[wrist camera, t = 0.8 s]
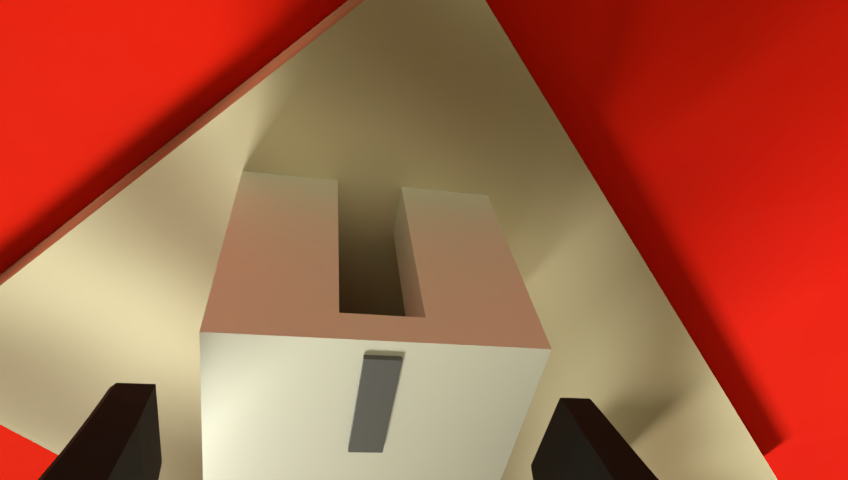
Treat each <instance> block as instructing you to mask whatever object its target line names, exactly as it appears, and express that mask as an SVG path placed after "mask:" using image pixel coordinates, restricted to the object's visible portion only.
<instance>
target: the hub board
mask: <svg viewBox="0 0 848 480" xmlns="http://www.w3.org/2000/svg"><path fill="white" fill-rule="evenodd" d="M242 171H249V172H259V173H269V174H279V175H289V176H299V177H309V178H319V179H329V180H338V252H339V313H353V314H370V315H388V316H405V310H404V303H403V296H402V289H401V282H400V275H399V269H398V262H397V255H396V248H395V241H394V234H393V230H394V225H395V219H396V213H397V208H398V202H399V197H400V191H401V187H409V188H419V189H429V190H439V191H449V192H459V193H469V194H479V195H488V197H489V200H490V202H491V204H492V207H493V209H494V212H495V214H496V216H497V219H498V221H499V224H500V226H501V228H502V231H503V233H504V236H505V238H506V240H507V243H508V245H509V248H510V250H511V253H512V255H513V257H514V260H515V262H516V265H517V267H518V269H519V272H520V274H521V277H522V279H523V281H524V284H525V286H526V289H527V291H528V293H529V296H530V298H531V301H532V303H533V305H534V308H535V310H536V313H537V315H538V317H539V320H540V322H541V325H542V327H543V329H544V332H545V334H546V337H547V339H548V341H549V344H550V346H551V349H552V350H551V353H550V355H549V358H548V360H547V363H546V365H545V368H544V370H543V373H542V376H541V378H540V381H539V383H538V386H537V388H536V391H535V393H534V396H533V399H532V401H531V404H530V406H529V409H528V411H527V414H526V416H525V419H524V421H523V424H522V427H521V429H520V432H519V434H518V437H517V439H516V442H515V444H514V447H513V450H512V452H511V455H510V457H509V460H508V462H507V465H506V467H505V470H504V473H503V475H502V478H501V480H533V476H532V470H531V464H532V462H533V459H534V457H535V455H536V452H537V450H538V448H539V445H540V443H541V441H542V438H543V436H544V434H545V432H546V429H547V427H548V425H549V422H550V420H551V418H552V415H553V413H554V411H555V408H556V406H557V404H558V401H559V399H560V398H589V399H591V400H592V401H593V403H594V404H595V405H596V406H597V407H598V408H599V410H600V411H601V412H602V413H603V414H604V415H605V417H606V418H607V419H608V420H609V421H610V423H611V424H612V425H613V426H614V427H615V429H616V430H617V431H618V432H619V433H620V435H621V436H622V437H623V438H624V439H625V441H626V442H627V443H628V444H629V445H630V447H631V448H632V449H633V450H634V451H635V452H636V454H637V455H638V456H639V457H640V458H641V460H642V461H643V462H644V463H645V464H646V465H647V467H648V468H649V469H650V470H651V471H652V472H653V474H654V475H655V476H656V477H657V478H658V479H659V480H777V478H776V476H775V475H774V473H773V471H772V470H771V468H770V467H769V465H768V463H767V462H766V460H765V458H764V457H763V455H762V453H761V452H760V450H759V448H758V447H757V445H756V444H755V442H754V440H753V439H752V437H751V435H750V434H749V432H748V430H747V429H746V427H745V425H744V424H743V422H742V421H741V419H740V417H739V416H738V414H737V412H736V411H735V409H734V407H733V406H732V404H731V403H730V401H729V399H728V398H727V396H726V394H725V393H724V391H723V389H722V388H721V386H720V384H719V383H718V381H717V380H716V378H715V376H714V375H713V373H712V371H711V370H710V368H709V366H708V365H707V363H706V361H705V360H704V358H703V357H702V355H701V353H700V352H699V350H698V348H697V347H696V345H695V343H694V342H693V340H692V338H691V337H690V335H689V334H688V332H687V330H686V329H685V327H684V325H683V324H682V322H681V320H680V319H679V317H678V316H677V314H676V312H675V311H674V309H673V307H672V306H671V304H670V302H669V301H668V299H667V297H666V296H665V294H664V293H663V291H662V289H661V288H660V286H659V284H658V283H657V281H656V279H655V278H654V276H653V274H652V273H651V271H650V270H649V268H648V266H647V265H646V263H645V261H644V260H643V258H642V256H641V255H640V253H639V252H638V250H637V248H636V247H635V245H634V243H633V242H632V240H631V238H630V237H629V235H628V233H627V232H626V230H625V229H624V227H623V225H622V224H621V222H620V220H619V219H618V217H617V215H616V214H615V212H614V210H613V209H612V207H611V206H610V204H609V202H608V201H607V199H606V197H605V196H604V194H603V192H602V191H601V189H600V187H599V186H598V184H597V183H596V181H595V179H594V178H593V176H592V174H591V173H590V171H589V169H588V168H587V166H586V165H585V163H584V161H583V160H582V158H581V156H580V155H579V153H578V151H577V150H576V148H575V146H574V145H573V143H572V142H571V140H570V138H569V137H568V135H567V133H566V132H565V130H564V128H563V127H562V125H561V123H560V122H559V120H558V119H557V117H556V115H555V114H554V112H553V110H552V109H551V107H550V105H549V104H548V102H547V100H546V99H545V97H544V96H543V94H542V92H541V91H540V89H539V87H538V86H537V84H536V82H535V81H534V79H533V78H532V76H531V74H530V73H529V71H528V69H527V68H526V66H525V64H524V63H523V61H522V59H521V58H520V56H519V55H518V53H517V51H516V50H515V48H514V46H513V45H512V43H511V41H510V40H509V38H508V36H507V35H506V33H505V32H504V30H503V28H502V27H501V25H500V23H499V22H498V20H497V18H496V17H495V15H494V14H493V12H492V10H491V9H490V7H489V5H488V4H487V2H486V0H348V1H346V2H345V3H344V4H343V5H341V6H340V7H339V8H338V9H336V10H335V11H334V12H332V13H331V14H330V15H329V16H327V17H326V18H325V19H324V20H322V21H321V22H320V23H319V24H317V25H316V26H315V27H313V28H312V29H311V30H310V31H308V32H307V33H306V34H305V35H303V36H302V37H301V38H300V39H298V40H297V41H296V42H294V43H293V44H292V45H291V46H289V47H288V48H287V49H286V50H284V51H283V52H282V53H281V54H279V55H278V56H277V57H275V58H274V59H273V60H272V61H270V62H269V63H268V64H267V65H265V66H264V67H263V68H262V69H260V70H259V71H258V72H256V73H255V74H254V75H253V76H251V77H250V78H249V79H248V80H246V81H245V82H244V83H243V84H241V85H240V86H239V87H237V88H236V89H235V90H234V91H232V92H231V93H230V94H229V95H227V96H226V97H225V98H224V99H222V100H221V101H220V102H218V103H217V104H216V105H215V106H213V107H212V108H211V109H210V110H208V111H207V112H206V113H204V114H203V115H202V116H201V117H199V118H198V119H197V120H196V121H194V122H193V123H192V124H191V125H189V126H188V127H187V128H185V129H184V130H183V131H182V132H180V133H179V134H178V135H177V136H175V137H174V138H173V139H172V140H170V141H169V142H168V143H166V144H165V145H164V146H163V147H161V148H160V149H159V150H158V151H156V152H155V153H154V154H153V155H151V156H150V157H149V158H147V159H146V160H145V161H144V162H142V163H141V164H140V165H139V166H137V167H136V168H135V169H134V170H132V171H131V172H130V173H128V174H127V175H126V176H125V177H123V178H122V179H121V180H120V181H118V182H117V183H116V184H115V185H113V186H112V187H111V188H109V189H108V190H107V191H106V192H104V193H103V194H102V195H101V196H99V197H98V198H97V199H96V200H94V201H93V202H92V203H90V204H89V205H88V206H87V207H85V208H84V209H83V210H82V211H80V212H79V213H78V214H77V215H75V216H74V217H73V218H71V219H70V220H69V221H68V222H66V223H65V224H64V225H63V226H61V227H60V228H59V229H57V230H56V231H55V232H54V233H52V234H51V235H50V236H49V237H47V238H46V239H45V240H44V241H42V242H41V243H40V244H38V245H37V246H36V247H35V248H33V249H32V250H31V251H30V252H28V253H27V254H26V255H25V256H23V257H22V258H21V259H19V260H18V261H17V262H16V263H14V264H13V265H12V266H11V267H9V268H8V269H7V270H6V271H4V272H3V273H2V274H0V424H1V425H2V426H4V427H6V428H8V429H10V430H12V431H14V432H16V433H18V434H19V435H21V436H23V437H25V438H27V439H29V440H31V441H33V442H35V443H36V444H38V445H40V446H42V447H44V448H46V449H48V450H50V451H52V452H53V453H55V454H57V455H59V454H60V453H61V451H62V450H63V449H64V448H65V446H66V445H67V444H68V443H69V441H70V440H71V439H72V438H73V436H74V435H75V434H76V433H77V431H78V430H79V429H80V427H81V426H82V425H83V423H84V422H85V421H86V419H87V418H88V417H89V415H90V414H91V413H92V411H93V410H94V409H95V407H96V406H97V405H98V403H99V402H100V400H101V399H102V398H103V396H104V395H105V393H106V392H107V390H108V389H109V388H110V387H111V386H112V385H114V384H115V383H139V384H156V395H157V407H158V419H159V431H160V443H161V456H162V465H161V470H160V475H159V479H158V480H203V462H202V420H201V379H200V337H199V331H200V328H201V324H202V320H203V316H204V313H205V309H206V305H207V301H208V298H209V294H210V290H211V286H212V283H213V279H214V275H215V271H216V268H217V264H218V260H219V256H220V253H221V249H222V245H223V241H224V238H225V234H226V230H227V226H228V222H229V219H230V215H231V211H232V207H233V204H234V200H235V196H236V192H237V189H238V185H239V181H240V177H241V174H242Z"/></svg>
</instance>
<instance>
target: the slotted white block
mask: <svg viewBox="0 0 848 480" xmlns="http://www.w3.org/2000/svg"><path fill="white" fill-rule="evenodd" d="M393 234H394V241H395V248H396V255H397V262H398V269H399V275H400V282H401V289H402V296H403V303H404V310H405V316H388V315H370V314H353V313H339V252H338V180H329V179H319V178H309V177H299V176H289V175H279V174H269V173H259V172H249V171H242V174H241V177H240V181H239V185H238V189H237V192H236V196H235V200H234V204H233V207H232V211H231V215H230V219H229V222H228V226H227V230H226V234H225V238H224V241H223V245H222V249H221V253H220V256H219V260H218V264H217V268H216V271H215V275H214V279H213V283H212V286H211V290H210V294H209V298H208V301H207V305H206V309H205V313H204V316H203V320H202V324H201V328H200V331H199V337H200V379H201V420H202V462H203V480H501V478H502V475H503V473H504V470H505V467H506V465H507V462H508V460H509V457H510V455H511V452H512V450H513V447H514V444H515V442H516V439H517V437H518V434H519V432H520V429H521V427H522V424H523V421H524V419H525V416H526V414H527V411H528V409H529V406H530V404H531V401H532V399H533V396H534V393H535V391H536V388H537V386H538V383H539V381H540V378H541V376H542V373H543V370H544V368H545V365H546V363H547V360H548V358H549V355H550V353H551V350H552V349H551V346H550V344H549V341H548V339H547V337H546V334H545V332H544V329H543V327H542V325H541V322H540V320H539V317H538V315H537V313H536V310H535V308H534V305H533V303H532V301H531V298H530V296H529V293H528V291H527V289H526V286H525V284H524V281H523V279H522V277H521V274H520V272H519V269H518V267H517V265H516V262H515V260H514V257H513V255H512V253H511V250H510V248H509V245H508V243H507V240H506V238H505V236H504V233H503V231H502V228H501V226H500V224H499V221H498V219H497V216H496V214H495V212H494V209H493V207H492V204H491V202H490V200H489V197H488V195H479V194H469V193H459V192H449V191H439V190H429V189H419V188H409V187H401V191H400V197H399V202H398V208H397V213H396V219H395V225H394V230H393Z"/></svg>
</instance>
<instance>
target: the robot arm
mask: <svg viewBox="0 0 848 480" xmlns="http://www.w3.org/2000/svg"><path fill="white" fill-rule="evenodd" d="M161 465H162V456H161V443H160V431H159V419H158V407H157V395H156V384H139V383H115V384H114V385H112V386H111V387H110V388H109V389H108V390H107V392H106V393H105V395H104V396H103V398H102V399H101V400H100V402H99V403H98V405H97V406H96V407H95V409H94V410H93V411H92V413H91V414H90V415H89V417H88V418H87V419H86V421H85V422H84V423H83V425H82V426H81V427H80V429H79V430H78V431H77V433H76V434H75V435H74V436H73V438H72V439H71V440H70V441H69V443H68V444H67V445H66V446H65V448H64V449H63V450H62V451H61V453H60V454H59V455H58V457H57V458H56V459H55V460H54V461H53V463H52V464H51V465H50V466H49V467H48V468H47V470H46V471H45V472H44V473H43V474H42V476H41V477H40V478H39V479H38V480H158V479H159V475H160V470H161ZM531 470H532V476H533V480H659V479H658V478H657V477H656V476H655V475H654V474H653V472H652V471H651V470H650V469H649V468H648V467H647V465H646V464H645V463H644V462H643V461H642V460H641V458H640V457H639V456H638V455H637V454H636V452H635V451H634V450H633V449H632V448H631V447H630V445H629V444H628V443H627V442H626V441H625V439H624V438H623V437H622V436H621V435H620V433H619V432H618V431H617V430H616V429H615V427H614V426H613V425H612V424H611V423H610V421H609V420H608V419H607V418H606V417H605V415H604V414H603V413H602V412H601V411H600V410H599V408H598V407H597V406H596V405H595V404H594V403H593V401H592V400H591V399H589V398H560V399H559V401H558V404H557V406H556V408H555V411H554V413H553V415H552V418H551V420H550V422H549V425H548V427H547V429H546V432H545V434H544V436H543V438H542V441H541V443H540V445H539V448H538V450H537V452H536V455H535V457H534V459H533V462H532V464H531Z"/></svg>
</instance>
